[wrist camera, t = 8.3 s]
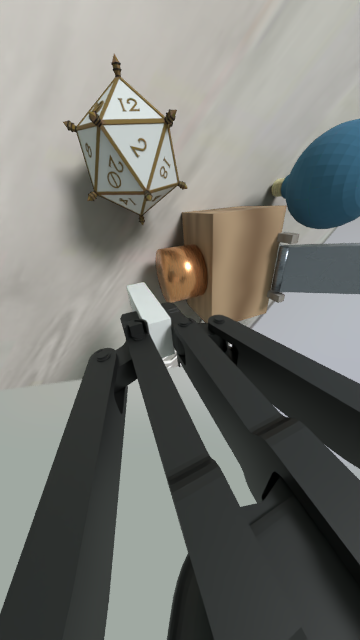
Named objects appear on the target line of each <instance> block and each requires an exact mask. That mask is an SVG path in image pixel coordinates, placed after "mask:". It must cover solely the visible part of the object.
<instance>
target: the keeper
mask: <svg viewBox="0 0 360 640" xmlns="http://www.w3.org/2000/svg"><path fill="white" fill-rule="evenodd" d="M271 290H272V291H275V292H305V293H340V294H360V243H340V244H304V245H281V246H279V251H278V256H277V262H276V267H275V272H274V277H273V282H272V287H271Z"/></svg>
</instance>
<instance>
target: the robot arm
mask: <svg viewBox="0 0 360 640" xmlns="http://www.w3.org/2000/svg"><path fill="white" fill-rule="evenodd" d="M126 287H127V291H128V295H129V299H130V303H131V308H132V312H130V313H126V314H122V316H121V318H120V319H121V323H122V326H123V330H124V333H125V337H126V342H125V343H124V345H123V346H122V347H120V348H119V349H117V350H114V349H112V348H104V349H100V350H98V351H96V352H95V353H94V354H93V355H92V356H91V357H90V359H89V362H88V365H87V368H86V370H85V373H84V376H83V379H82V382H81V385H80V388H79V390H78V393H77V396H76V399H75V402H74V405H73V408H72V410H71V414H70V417H69V419H68V422H67V425H66V428H65V430H64V433H63V436H62V439H61V442H60V445H59V448H58V450H57V454H56V456H55V459H54V462H53V465H52V468H51V470H50V473H49V476H48V479H47V482H46V485H45V488H44V491H43V494H42V496H41V499H40V502H39V505H38V508H37V510H36V513H35V516H34V519H33V522H32V525H31V528H30V531H29V533H28V536H27V539H26V542H25V545H24V548H23V550H22V553H21V556H20V559H19V562H18V565H17V568H16V570H15V573H14V576H13V579H12V582H11V585H10V588H9V590H8V593H7V596H6V599H5V602H4V605H3V608H2V610H1V613H0V640H104V636H105V627H106V619H107V610H108V603H109V592H110V581H111V570H112V559H113V548H114V535H115V525H116V514H117V503H118V491H119V481H120V469H121V459H122V447H123V436H124V425H125V414H126V403H127V391H128V386H127V385H129V384H130V383H132V382H133V381H135V380H136V379H138V382H139V385H140V389H141V392H142V395H143V399H144V402H145V406H146V409H147V412H148V416H149V420H150V423H151V426H152V430H153V433H154V437H155V440H156V444H157V447H158V451H159V454H160V457H161V461H162V464H163V468H164V471H165V474H166V478H167V481H168V485H169V488H170V492H171V495H172V499H173V502H174V505H175V509H176V512H177V516H178V519H179V523H180V526H181V530H182V533H183V536H184V540H185V543H186V547H187V550H188V555H187V557H186V559H185V561H184V563H183V566H182V568H181V571H180V574H179V577H178V580H177V585H176V588H175V593H174V597H173V603H172V609H171V616H170V622H169V629H168V636H167V640H360V480H359V479H358V478H357V477H356V476H355V475H354V474H353V473H352V472H351V471H350V470H349V469H348V468H347V467H346V466H345V465H344V464H343V463H342V462H341V461H340V460H339V459H338V458H337V457H336V456H335V455H334V454H333V453H332V452H331V451H330V450H329V449H328V448H327V447H329V448H330V449H331V450H332V451H334V452H336V453H337V454H338V455H340V456H341V457H342V458H344V459H345V460H347V461H348V462H350V463H351V464H353V465H354V466H356V467H358V468H359V469H360V384H359V383H357V382H355V381H353V380H351V379H349V378H347V377H345V376H343V375H341V374H339V373H337V372H335V371H333V370H331V369H329V368H327V367H325V366H323V365H321V364H319V363H317V362H316V361H313V360H311V359H310V358H307V357H305V356H304V355H302V354H300V353H297V352H296V351H294V350H292V349H290V348H288V347H286V346H284V345H282V344H280V343H278V342H276V341H274V340H272V339H270V338H268V337H266V336H264V335H262V334H260V333H258V332H256V331H254V330H252V329H250V328H248V327H246V326H244V325H242V324H240V323H238V322H236V321H234V320H233V319H231V318H229V317H227V316H224V315H213V316H211V317H209V319H208V323H196V322H195V321H194V320H193V319H190V318H186V317H185V316H184V315H183V314H182V313H181V312H180V311H179V309H178V308H177V307H176V306H175V305H174V304H172V303H170V302H168V303H164V304H160V303H159V302H158V300H157V299H156V298H155V296H154V295H153V294H152V292H151V291H150V290H149V288H148V287H147V286H146V284H145V283H144V282H142V283H137V284H133V285H128V286H126ZM228 342H229V343H231V344H232V347H230V346H228ZM174 348H175V350H176V351H177V359H178V366H179V367H180V363H181V365H182V366H183V368H184V370H185V372H186V373H187V375H188V377H189V378H190V380H191V382H192V383H193V385H194V387H195V388H196V390H197V392H198V394H199V396H200V397H201V399H202V400H203V402H204V404H205V406H206V407H207V409H208V411H209V412H210V414H211V416H212V418H213V419H214V421H215V423H216V424H217V426H218V428H219V429H220V431H221V433H222V435H223V437H224V438H225V440H226V442H227V443H228V445H229V447H230V448H231V450H232V452H233V453H234V455H235V457H236V459H237V460H238V462H239V464H240V466H241V468H242V470H243V472H244V476H245V479H246V482H247V484H248V487H249V489H250V491H251V493H252V495H253V496H254V498H255V500H256V502H257V504H252V505H248V506H243V507H240V506H239V504H238V502H237V500H236V498H235V496H234V494H233V492H232V490H231V489H230V486H229V484H228V482H227V480H226V478H225V476H224V474H223V473H222V471H221V469H220V467H219V466H218V464H217V463H216V461H215V460H213V459H212V458H211V457H210V456H209V454H208V452H207V450H206V448H205V446H204V444H203V442H202V440H201V438H200V436H199V434H198V432H197V430H196V428H195V426H194V424H193V422H192V419H191V417H190V415H189V413H188V411H187V409H186V407H185V405H184V403H183V401H182V399H181V397H180V395H179V393H178V391H177V389H176V387H175V385H174V383H173V381H172V379H171V376H170V375H169V373H168V370H167V368H166V366H165V364H164V362H163V360H162V358H163V357H166V356H169V355H172V354H175V351H174ZM273 405H274V406H275V407H276V408H278V409H279V410H280V411H281V412H283V413H284V414H285V415H287V416H288V417H285V416H283V415H282V414H280V413H279V412H278V411H277V409H276V408H275V407H274V406H273ZM324 444H325V445H326V446H327V447H326V446H325V445H324Z"/></svg>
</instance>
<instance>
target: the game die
mask: <svg viewBox="0 0 360 640" xmlns="http://www.w3.org/2000/svg"><path fill="white" fill-rule="evenodd" d="M112 65H113V71H114V73H115V78H114V80H113V81H112V82H111V83H110V85H109V86H108V87H107V88H106V90H105V91H104V92H103V94H102V95H101V96H100V97H99V99H98V100H97V101H96V102H95V104H94V105H93V106H92V107H91V109H90V110H89V111H88V113H87V114H86V115H85V116H84V118H83V119H82V120H81V121H80V123H79V124H78V125H77V126H75V125H74V123H71V122H70V121H66V122H63V123H64V124H65V126H66V127H67V128H68V130H71V131H72V132H76V133H77V136H78V139H79V142H80V146H81V149H82V152H83V156H84V159H85V162H86V166H87V169H88V172H89V175H90V179H91V182H92V185H93V189H94V192H90V194H88V201H94V200H95V199H96V197H97V195H98V196H100V197H103V198H105V199H107V200H109V201H111V202H113V203H115V204H117V205H119V206H121V207H124V208H126V209H128V210H130V211H132V212H134V213H136V214H138V215H139V216H140V217H139V219H140V221H139V222H141V224H142V225H143V224H144V222H145V220H144V217H143V214H145V213H146V212H147V211H148V210H149V209H150V208H152V207H153V206H154V205H155V204H156V203H158V202H159V201H160V200H161V199H162V198H163V197H165V196H166V195H167V194H168V193H169V192H171V191H172V190H173V189H174V188H175V187H176V186H179V187H180V188H182V190H183V189H188V188H187V186H186V184H185V183H184V182H183V181H182V182H180V181H179V178H178V172H177V167H176V161H175V156H174V150H173V145H172V139H171V134H170V127H172V125H173V121H174V120H175V114H176V111H177V110H169V112H168V113H166V117H165V116H163V115H162V114H161V113H160V112H159V111H158V110H157V109H156V108H155V107H153V106H152V105H151V104H150V103H149V102H148V101H147V100H146V99H145V98H143V97H142V96H141V95H140V94H139V93H138V92H137V91H136V90H135V89H133V88H132V87H131V86H130V85H129V84H128V83H127V82H126V81H125V80H124V79H122V78H121V75H120V73H121V69H120V65H121V63H119V61H118V59H117V58H116V56H115V54H114V56H113V61H112Z"/></svg>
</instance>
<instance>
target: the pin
mask: <svg viewBox="0 0 360 640" xmlns="http://www.w3.org/2000/svg"><path fill="white" fill-rule="evenodd" d="M279 246H281V244H279ZM278 251H279V248H278ZM277 256H278V253H277ZM276 262H277V259H276ZM275 267H276V264H275ZM156 269H157V275H158V280H159V284H160V288H161V291H162V293H163V296H164V298H165V300H166V301H167V302H170V303H173V302H177V301H181V300H185V299H189V298H194V297H198V296H202V295H203V294H204V293H205V291H206V288H207V268H206V263H205V259H204V256H203V254H202V252H201V250H200V249H199V247H198V246H197V245H195V244H190V245H184V246H177V247H171V248H164V249H158V250H157V252H156Z"/></svg>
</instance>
